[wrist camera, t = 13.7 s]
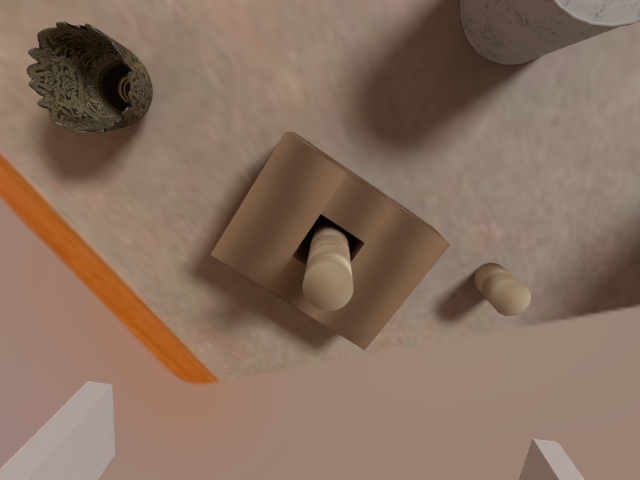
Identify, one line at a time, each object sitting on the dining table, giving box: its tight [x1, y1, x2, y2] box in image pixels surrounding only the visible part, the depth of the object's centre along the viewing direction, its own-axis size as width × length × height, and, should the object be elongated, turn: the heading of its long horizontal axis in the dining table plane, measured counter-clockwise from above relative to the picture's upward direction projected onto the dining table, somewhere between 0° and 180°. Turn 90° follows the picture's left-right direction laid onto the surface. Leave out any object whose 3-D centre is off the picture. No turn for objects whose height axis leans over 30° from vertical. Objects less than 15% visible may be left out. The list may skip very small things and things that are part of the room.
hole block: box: [211, 132, 450, 350], centre depth 34 cm, size 16×12×6 cm
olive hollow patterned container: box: [27, 22, 153, 133], centre depth 30 cm, size 8×7×8 cm
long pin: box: [303, 216, 353, 311], centre depth 30 cm, size 3×3×14 cm
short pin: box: [473, 263, 531, 316], centre depth 35 cm, size 3×3×5 cm
